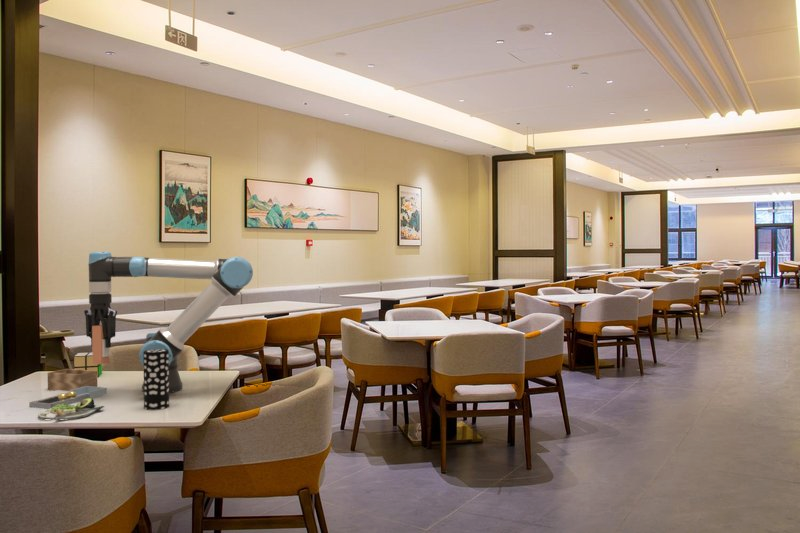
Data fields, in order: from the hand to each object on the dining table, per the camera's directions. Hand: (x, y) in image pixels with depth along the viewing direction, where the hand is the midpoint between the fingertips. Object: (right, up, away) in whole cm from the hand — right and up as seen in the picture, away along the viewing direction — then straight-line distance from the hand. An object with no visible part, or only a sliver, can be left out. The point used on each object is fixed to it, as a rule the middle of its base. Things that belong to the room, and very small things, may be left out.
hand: (101, 356), depth 232 cm
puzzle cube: (-29, -16, +49) cm, 59 cm away
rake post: (0, -3, 0) cm, 3 cm away
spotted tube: (+25, -17, -11) cm, 32 cm away
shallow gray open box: (-12, -17, -5) cm, 21 cm away
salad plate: (-1, -17, -20) cm, 26 cm away
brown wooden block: (-21, -16, +21) cm, 34 cm away
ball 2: (-11, -16, 0) cm, 19 cm away
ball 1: (-12, -16, -4) cm, 21 cm away
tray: (-8, -16, +7) cm, 20 cm away
